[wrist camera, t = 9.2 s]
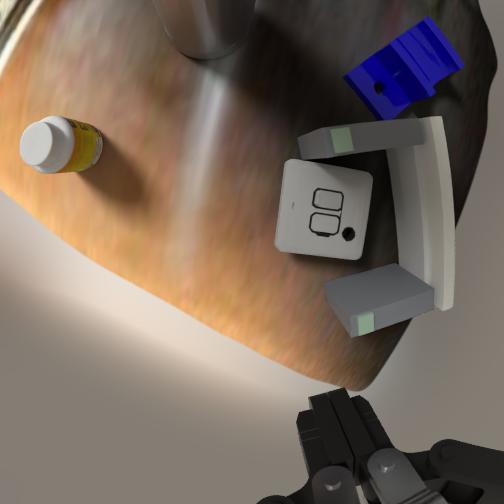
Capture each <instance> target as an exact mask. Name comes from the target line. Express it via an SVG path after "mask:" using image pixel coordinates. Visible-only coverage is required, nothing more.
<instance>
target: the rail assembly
mask: <svg viewBox="0 0 504 504" xmlns="http://www.w3.org/2000/svg"><path fill="white" fill-rule="evenodd" d="M297 140H298V144H299V149H300V153H301V158H302V160H306V159H318V158H329V157H335V156H341V155H348V154H354V153H361V152H368V151H375V150H382V149H386V154H387V159H388V165H389V172H390V178H391V185H392V193H393V200H394V209H395V218H396V228H397V240H398V253H399V265H398V264H396V263H393V264H389V265H386V266H382V267H379V268H375V269H372V270H368V271H365V272H361V273H357V274H354V275H350V276H346V277H342V278H339V279H335V280H331V281H327V282H323V283H324V290H325V297H326V302H327V303H328V304H329V306H330V307H331V309H332V310H333V312H334V313H335V314H336V316H337V317H338V319H339V320H340V322H341V323H342V325H343V326H344V327H345V329H346V330H347V332H348V333H349V335H350V336H351V338H353V337H356V336H360V335H363V334H367V333H370V332H373V331H375V330H378V329H381V328H384V327H387V326H390V325H393V324H395V323H398V322H401V321H404V320H407V319H409V318H412V317H415V316H418V315H420V314H423V313H425V312H428V311H431V310H433V309H434V305H435V306H436V307H438V308H439V309H440V310H442V311H445V310H447V309H450V308H452V307H453V300H454V283H455V223H454V205H453V192H452V182H451V173H450V165H449V157H448V150H447V144H446V138H445V132H444V127H443V122H442V117H441V116H436V117H425V118H420V119H419V118H411V119H397V120H385V121H374V122H365V123H356V124H347V125H339V126H332V127H325V128H320V129H317V130H315V131H312V132H310V133H307V134H305V135H302V136H300V137H297Z"/></svg>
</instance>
